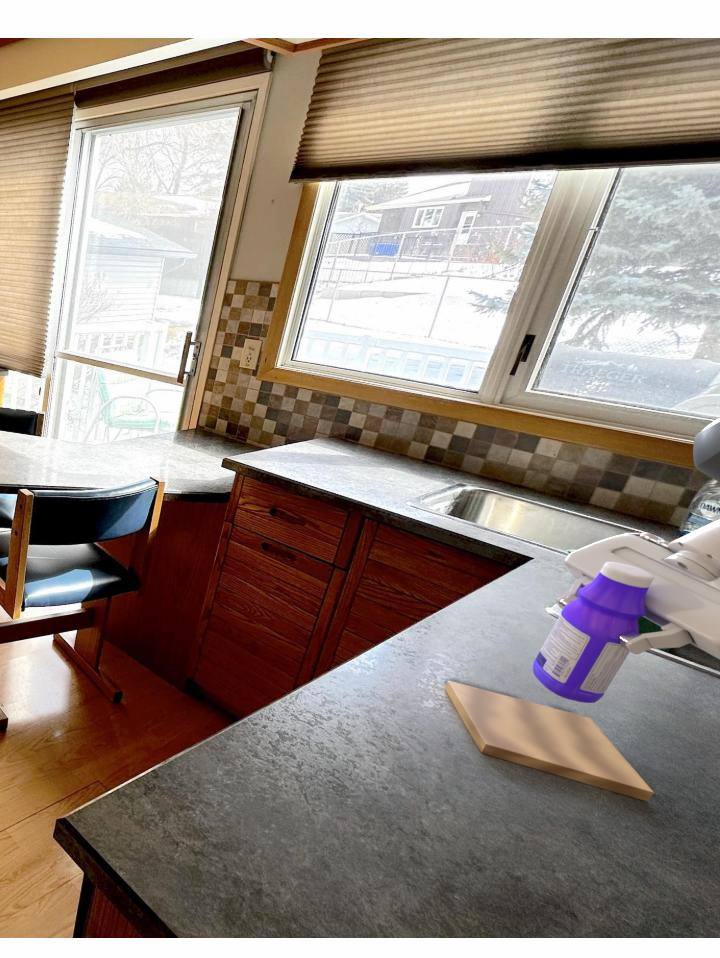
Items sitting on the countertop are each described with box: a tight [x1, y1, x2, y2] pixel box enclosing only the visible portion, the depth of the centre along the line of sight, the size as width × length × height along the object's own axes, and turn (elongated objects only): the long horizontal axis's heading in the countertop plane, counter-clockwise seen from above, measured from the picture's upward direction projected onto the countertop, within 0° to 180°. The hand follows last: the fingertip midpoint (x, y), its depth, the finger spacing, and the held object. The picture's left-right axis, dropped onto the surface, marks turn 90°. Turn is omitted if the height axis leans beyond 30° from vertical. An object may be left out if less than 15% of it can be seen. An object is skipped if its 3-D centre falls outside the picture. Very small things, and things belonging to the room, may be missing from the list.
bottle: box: [532, 562, 654, 704], centre depth 75 cm, size 7×6×17 cm
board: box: [444, 680, 655, 803], centre depth 81 cm, size 16×14×2 cm
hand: (592, 626), depth 75 cm, fingers closed on bottle, 7 cm apart
